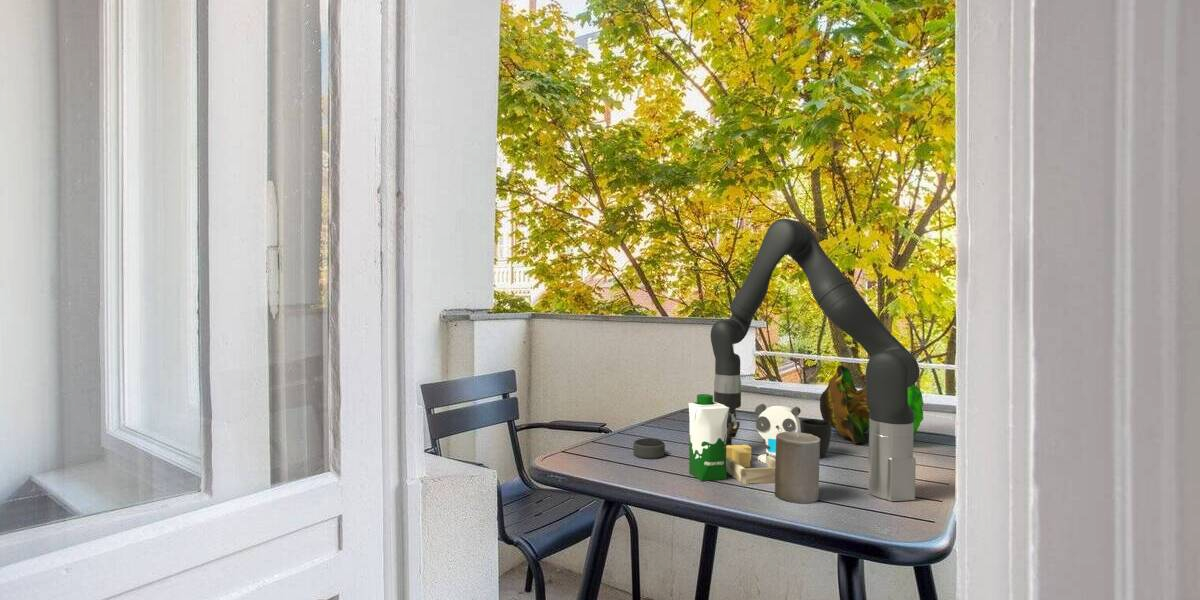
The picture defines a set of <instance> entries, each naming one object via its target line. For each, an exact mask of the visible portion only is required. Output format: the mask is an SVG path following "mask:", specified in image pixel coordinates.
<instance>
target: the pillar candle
mask: <svg viewBox="0 0 1200 600" xmlns="http://www.w3.org/2000/svg"><path fill="white" fill-rule="evenodd" d="M820 460H821V458H820V438H818V437H816V436H814V435H811V434H806V433H801V431H800V432H798V431H797V432H782V433H778V434H777V435H776V458H775V483H774V496H775V497H776V498H777V497H778V498H777V499H780V500H782V501H784V500H785V502H788V501H790V503H792V502H796V503H795V504H813V503H816V502H817V501H819V493H820V492H819V489H820V488H819V487H820Z"/></svg>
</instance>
